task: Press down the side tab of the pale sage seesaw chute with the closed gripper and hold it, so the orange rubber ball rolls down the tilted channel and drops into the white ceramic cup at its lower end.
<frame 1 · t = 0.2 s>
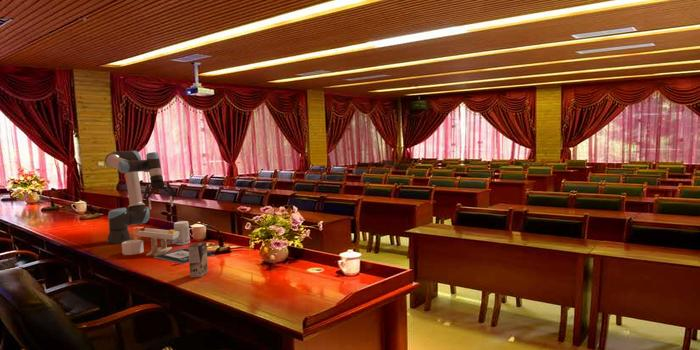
hand: (161, 207, 300), 27 cm above the table, tool tilted 15°, fingers open, 13 cm apart
ball: (171, 232, 291), point 12 cm above the table, tilted 14°, touching seesaw chute
chute stand: (159, 251, 292), on the table
coffee box: (199, 275, 239), on the table
seesaw chute: (160, 234, 295), point 10 cm above the table, hinge at -8.0°, touching ball
cup: (133, 252, 293), on the table
supplement tub: (182, 243, 314), on the table
sketchbook: (183, 257, 279), on the table
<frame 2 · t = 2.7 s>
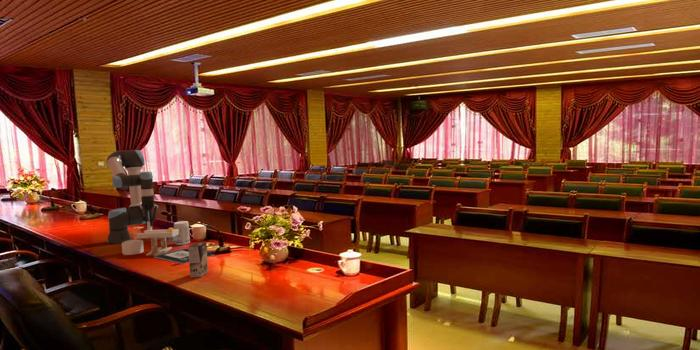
hand: (149, 231, 301), 11 cm above the table, tool pointing down, fingers closed, pressing on seesaw chute
ball: (170, 230, 291), point 13 cm above the table, tilted 5°, touching seesaw chute
seesaw chute: (160, 234, 295), point 10 cm above the table, hinge at 0.5°, touching ball, gripper
everything else where it was.
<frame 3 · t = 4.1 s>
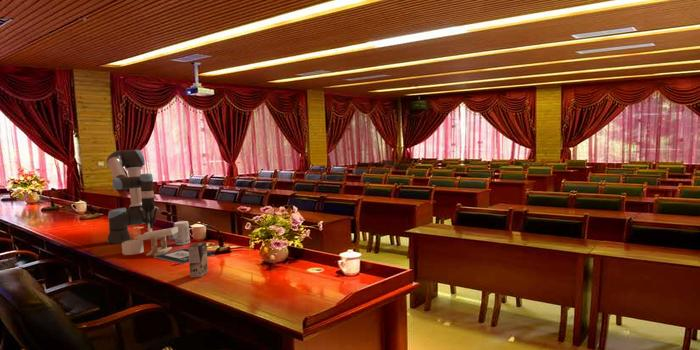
hand: (150, 233, 301), 10 cm above the table, tool pointing down, fingers closed
ball: (129, 248, 292), point 2 cm above the table, tilted 109°, touching cup
seesaw chute: (160, 234, 295), point 10 cm above the table, hinge at 8.2°, touching gripper
everything else where it was.
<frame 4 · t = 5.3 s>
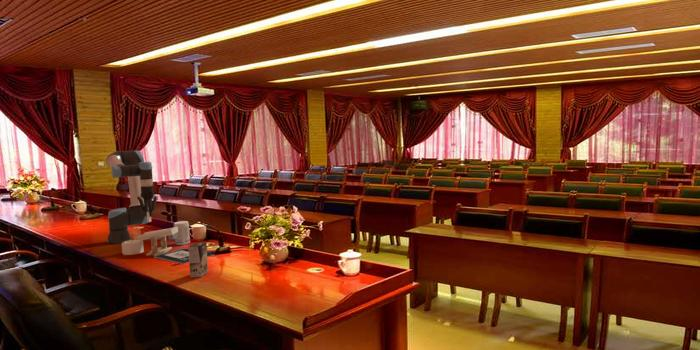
hand: (149, 221, 301), 18 cm above the table, tool pointing down, fingers closed
ball: (131, 248, 292), point 2 cm above the table, tilted 62°, touching cup
seesaw chute: (160, 234, 295), point 10 cm above the table, hinge at 8.2°
everything else where it was.
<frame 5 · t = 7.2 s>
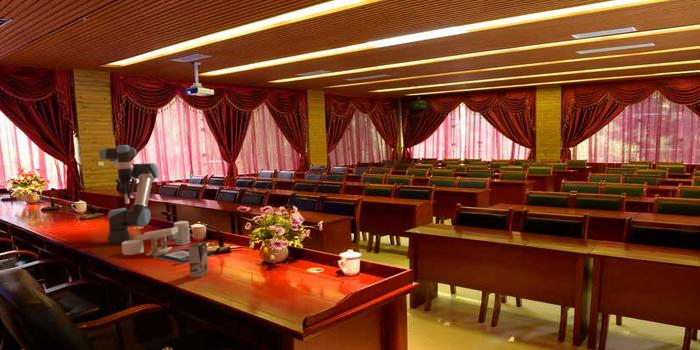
hand: (127, 203, 310), 29 cm above the table, tool pointing down, fingers closed
ball: (135, 248, 292), point 2 cm above the table, tilted 12°, touching cup
everything else where it was.
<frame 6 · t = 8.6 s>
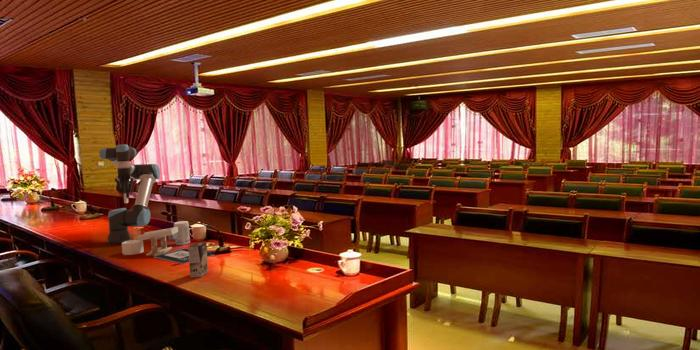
hand: (126, 202, 310), 29 cm above the table, tool pointing down, fingers closed
ball: (137, 248, 292), point 2 cm above the table, tilted 44°, touching cup
everything else where it was.
at the end: ball inside the target area on the cup (2.9 cm from its centre), point 2.5 cm above the cup's base; ball touching cup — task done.
